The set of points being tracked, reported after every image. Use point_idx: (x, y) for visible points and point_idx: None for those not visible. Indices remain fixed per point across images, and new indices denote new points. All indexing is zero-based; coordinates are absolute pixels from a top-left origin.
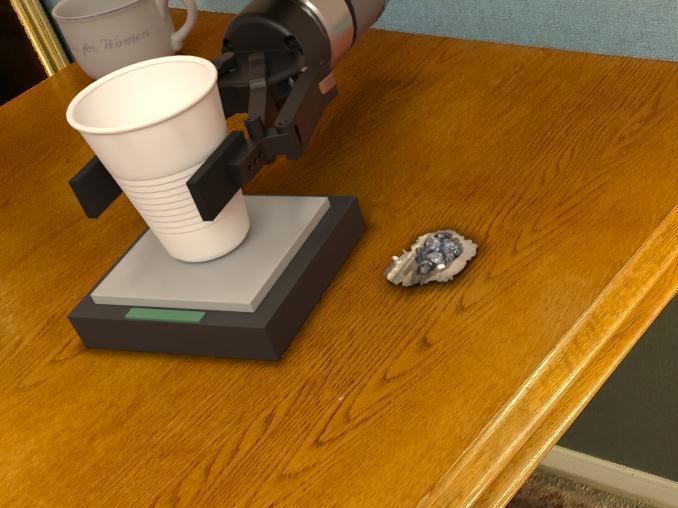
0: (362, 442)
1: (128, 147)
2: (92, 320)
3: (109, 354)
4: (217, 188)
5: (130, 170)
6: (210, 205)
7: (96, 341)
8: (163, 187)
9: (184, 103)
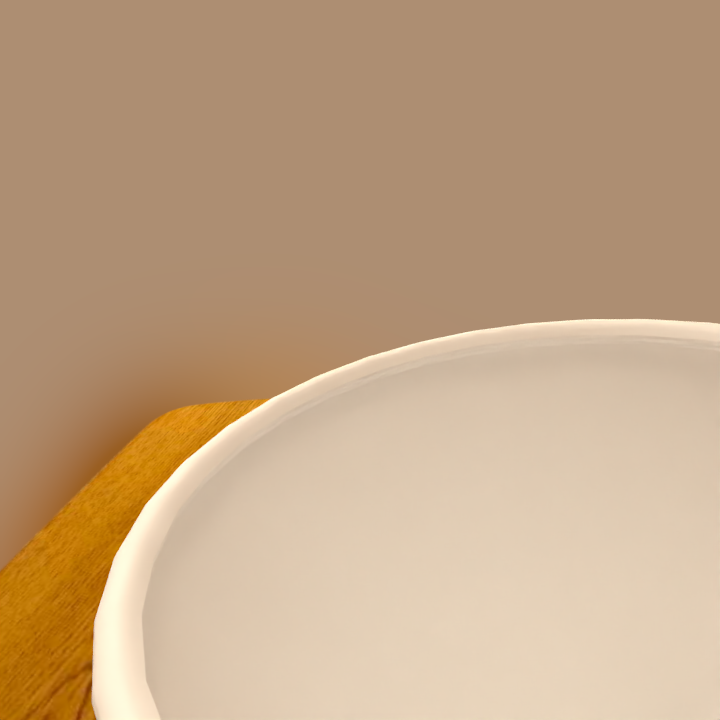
0: (18, 688)
1: (425, 425)
2: None
3: None
4: None
5: (486, 501)
6: None
7: None
8: (424, 599)
9: (192, 464)
